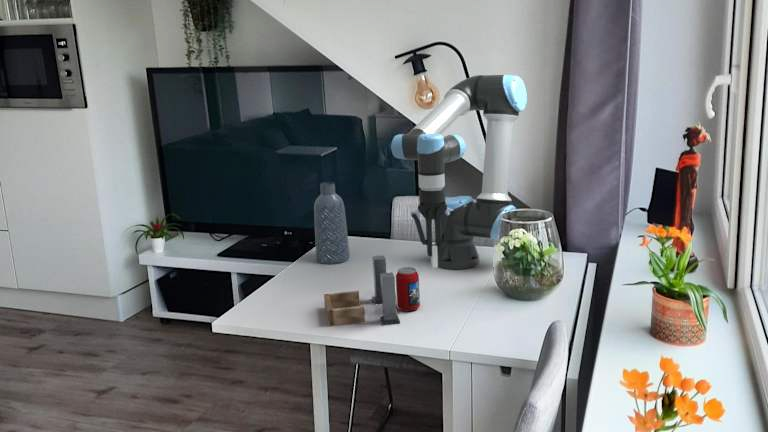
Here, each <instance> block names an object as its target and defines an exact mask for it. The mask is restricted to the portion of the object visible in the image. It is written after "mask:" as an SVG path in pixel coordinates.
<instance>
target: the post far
mask: <svg viewBox="0 0 768 432" xmlns="http://www.w3.org/2000/svg"><path fill="white" fill-rule="evenodd" d="M386 260H387V258H386V257H385V255H376V256H375V255H374V256H373V255H372V271H373V282H374V283H373V285H374V288H373V289H374V296H372V302H373V303H374V305H376V304H377V305H382V294H381V277H380V274H381V273H387V262H386Z"/></svg>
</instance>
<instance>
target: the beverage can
mask: <svg viewBox="0 0 768 432" xmlns="http://www.w3.org/2000/svg"><path fill="white" fill-rule="evenodd" d="M395 291H396V307H397V308H398V309H399V310H401V311H403V312H413V311H416V310H417V309H418V308H420V306H421V298H420V297H421V295H420V278H419V273H418V271H417V269H416V268H415V267H411V266H408V267H407V266H406V267H401V268H398V270H397V273H396V274H395Z"/></svg>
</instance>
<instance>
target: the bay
mask: <svg viewBox="0 0 768 432" xmlns="http://www.w3.org/2000/svg"><path fill="white" fill-rule="evenodd" d="M323 298H324V300H323V301H324V309H325V315H326V319H327V326H328V327H335V326H336V327H337V326H343V325H344V326H346V325H351V324H361V323H363V324H364V323H366V312H365V306H361V303H360V291H359V290H352V291H343V292H334V293H333V292H332V293H325V294H323Z"/></svg>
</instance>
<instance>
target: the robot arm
mask: <svg viewBox="0 0 768 432" xmlns="http://www.w3.org/2000/svg"><path fill="white" fill-rule="evenodd" d="M527 95H528V93H527V89H526V85H525V82H524V80H523V79H522V78H521V77H519V76H518V75H511V74H493V75H492V74H489V75H487V74H486V75H485V74H484V75H482V74H478V75H477V74H476V75H472V76H470V77H468V78H466V79H465V78H464V79H463V80H461V81H460V82H458V83H456V84H455V85H453V87H451V88H449V90H448V91H446V93H445V95H444V97H443V99H442V100H441V101H440V102H439V104H437V105H436V106H435V107H434V108H433V109H432V110H431V111H430V112H429V113H428V114H427V115H425V117H424V118H423V119H421V121H419V122H418V123H417V124H416V125H415V126H414V127H413V128H412V129H411V130H410V131H409V132H408V133H406V134H405V133H402V134H400V133H399V134H397V135H394V136H393V138H392V141H391V144H390V149H391V153H392V155H393V157H394V158H396V159H398V160H399V159H400V160H406V161H408V160H411V161H417V168H418V171H417V172H418V188H419V189H418V203H419V204H418V206H417V209H416V210H415V211H412V212H410V216H411V217H412V219H413V220H414V223H415V227H416V230H417V234H418V237H419V240H420V243H421V244H422V245H423V246H424V245H425V246H426V252H427V253H426V254H427V256H428V257H430V266H431V268H433V269H435V268H436V269H437V268H438V267H439V268H442V269H446V270H464V269H465V270H467V269H470V268H473V267H476V266H478V265H479V264H480V255H479V252H478V250H477V247H476V244H475V241H474V238H476V237H477V238H483V239H491V240H492V241H493V240H498V239H497V234H498V227H499V220H500V215H501V213H503V212H506V211H511V210H517V207H515V206H514V205H513V203H512V198H511V197H510V196H509V193H508V192H509V183H510V182H509V181H510V169H511V157H512V146H513V145H512V143H513V133H514V132H513V131H514V123H515V121H516V120H517V119H519V116H520V115H519V114H520V112H523V111H524V110H525V109H526V106H527V102H528V101H527V100H528V99H527V98H528V96H527ZM473 111H483V117H484V118H485V120H486V121H487V123H486V132H485V133H486V134H485V145H484V146H485V147H484V160H483V170H482V171H483V173H482V183H481V184H482V187H481V192H480V194H479V195H477V197H476V201H474V199H473V197H472V196H470V195H458V196H454V197H447V198H446V189H445V188H444V187H445V186H446V181H445V180H446V178H445V175H446V174H445V164H448V163H451V162H455V161H457V160H458V159H461V158H462V157H463V156H464V155H465V152H466V151H467V146H466V142H465V140H464V138H462V137H461V136H460V135H457V134H447V135H444V136H443V133H444V132H445V131H446V130H448V129H449V127H450V126H451V125H452V124H453V123H455V121H456V120H457V119H459V117H462V116H465V115H467V113H469V112H473ZM420 214H421V215H422V217H423V218H424V220H425V233H426V234H424V231H423V228H422V223H421V221H420V217H421V215H420ZM432 222H434V242H435V243H433V227H432V225H433V223H432ZM425 236H426V238H425Z"/></svg>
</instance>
